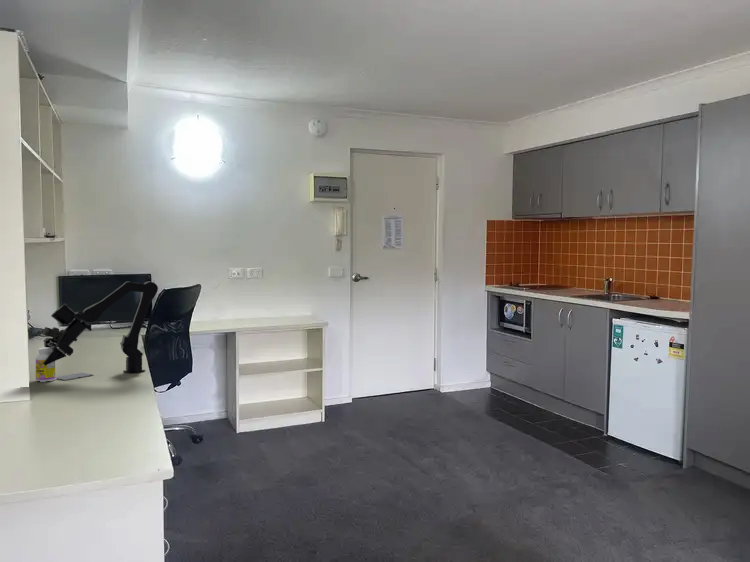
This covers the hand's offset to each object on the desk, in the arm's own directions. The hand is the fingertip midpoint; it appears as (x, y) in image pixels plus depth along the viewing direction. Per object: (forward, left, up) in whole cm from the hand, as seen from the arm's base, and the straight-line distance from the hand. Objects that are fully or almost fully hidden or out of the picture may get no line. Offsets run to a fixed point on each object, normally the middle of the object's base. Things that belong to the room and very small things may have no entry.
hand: (41, 363), depth 218 cm
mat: (-2, -11, -7) cm, 14 cm away
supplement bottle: (0, -1, -7) cm, 7 cm away
